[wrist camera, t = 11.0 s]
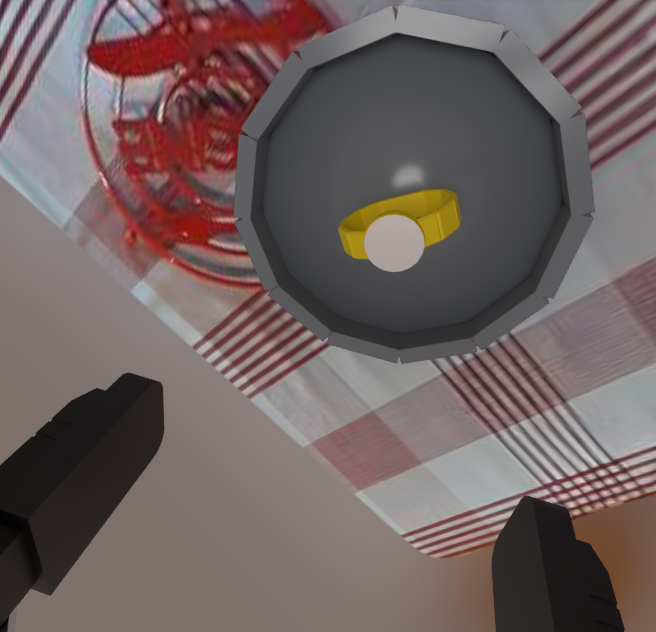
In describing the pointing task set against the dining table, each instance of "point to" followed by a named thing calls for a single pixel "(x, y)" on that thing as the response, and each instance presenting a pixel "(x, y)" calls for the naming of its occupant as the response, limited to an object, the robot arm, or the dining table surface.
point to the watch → (400, 228)
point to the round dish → (414, 181)
